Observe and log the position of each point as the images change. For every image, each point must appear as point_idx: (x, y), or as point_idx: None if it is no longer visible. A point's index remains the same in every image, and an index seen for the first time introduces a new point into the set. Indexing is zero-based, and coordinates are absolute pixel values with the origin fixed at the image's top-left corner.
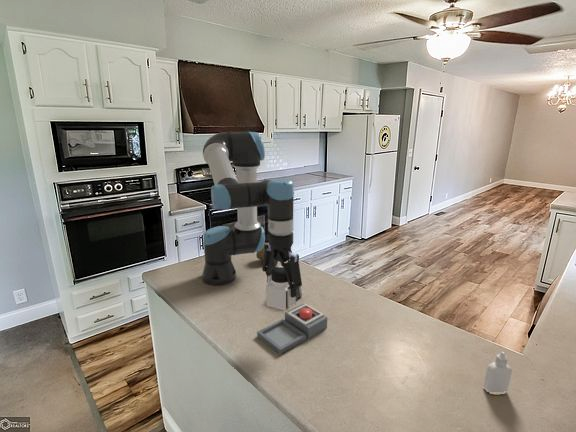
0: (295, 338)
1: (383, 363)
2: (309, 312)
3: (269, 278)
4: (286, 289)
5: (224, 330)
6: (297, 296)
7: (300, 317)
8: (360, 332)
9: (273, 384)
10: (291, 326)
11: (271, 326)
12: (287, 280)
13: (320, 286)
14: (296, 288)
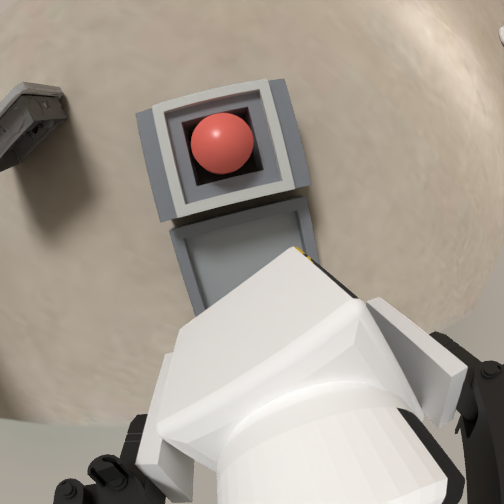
0: (284, 230)
1: (448, 91)
2: (238, 131)
3: (191, 487)
4: (419, 419)
5: (143, 394)
6: (58, 107)
7: (224, 173)
8: (343, 33)
9: None
10: (231, 220)
11: (197, 290)
12: (466, 463)
13: (54, 17)
14: (478, 361)
